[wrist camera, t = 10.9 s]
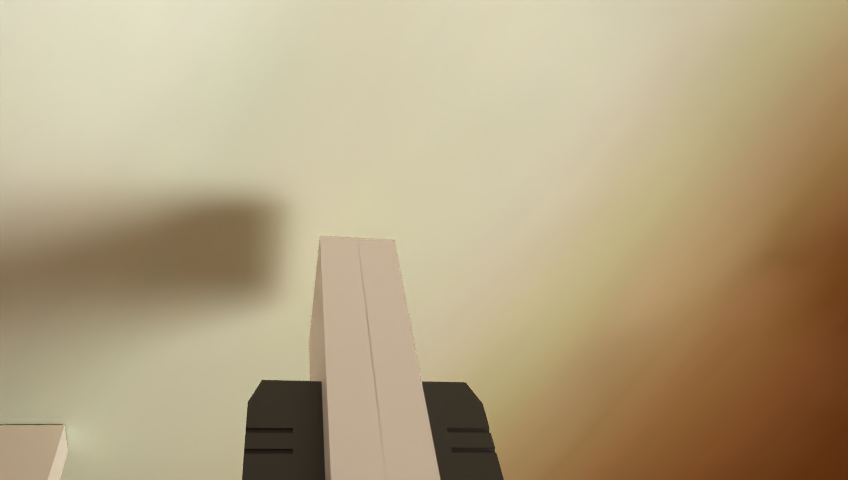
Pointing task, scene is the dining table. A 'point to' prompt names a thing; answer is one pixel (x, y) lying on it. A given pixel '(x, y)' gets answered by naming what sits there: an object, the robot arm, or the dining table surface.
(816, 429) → the dining table surface
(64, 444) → the bay box
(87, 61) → the dining table surface
